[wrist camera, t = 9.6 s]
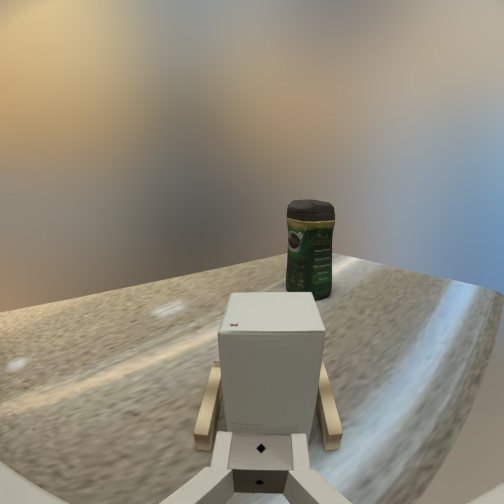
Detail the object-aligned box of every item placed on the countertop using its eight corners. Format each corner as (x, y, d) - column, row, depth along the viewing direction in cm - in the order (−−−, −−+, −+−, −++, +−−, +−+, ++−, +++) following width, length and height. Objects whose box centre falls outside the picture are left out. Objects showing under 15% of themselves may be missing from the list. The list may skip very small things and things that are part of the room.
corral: (337, 449, 20) (342, 433, 19) (197, 449, 20) (193, 433, 20) (320, 377, 31) (323, 361, 30) (215, 377, 31) (213, 361, 31)
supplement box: (309, 447, 20) (328, 331, 17) (226, 446, 21) (213, 330, 18) (304, 396, 28) (313, 289, 25) (235, 396, 28) (229, 289, 25)
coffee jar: (337, 296, 55) (342, 201, 50) (304, 304, 52) (307, 201, 47) (311, 281, 63) (313, 198, 59) (280, 287, 60) (280, 198, 56)
